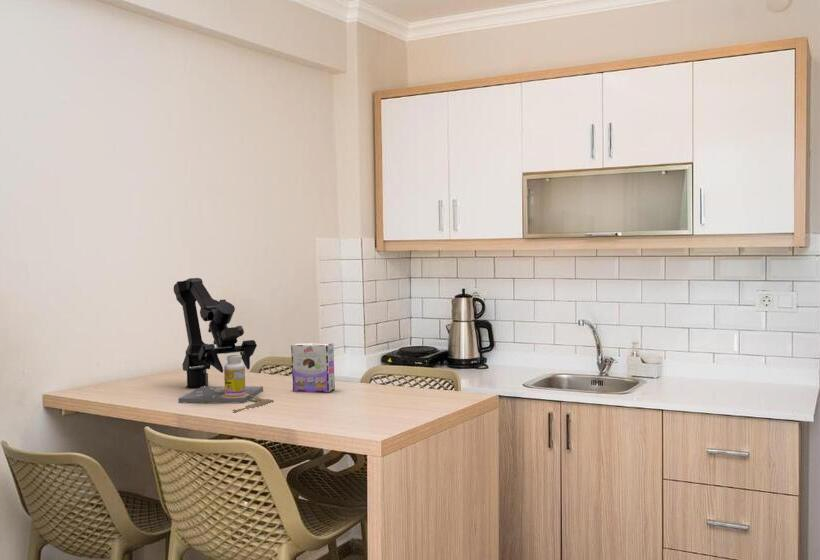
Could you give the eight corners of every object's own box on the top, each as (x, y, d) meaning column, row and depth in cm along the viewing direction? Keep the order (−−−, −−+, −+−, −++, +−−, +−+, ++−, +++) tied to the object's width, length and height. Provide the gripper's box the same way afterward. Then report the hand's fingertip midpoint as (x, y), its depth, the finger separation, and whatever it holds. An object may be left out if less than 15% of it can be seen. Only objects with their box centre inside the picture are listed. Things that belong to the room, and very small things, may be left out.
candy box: (335, 390, 281) (334, 342, 280) (328, 393, 275) (327, 345, 274) (299, 388, 285) (298, 342, 284) (291, 391, 280) (290, 344, 279)
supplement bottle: (222, 394, 267) (220, 355, 267) (241, 392, 271) (239, 354, 270) (229, 397, 262) (227, 358, 261) (248, 395, 265) (247, 356, 265)
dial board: (178, 402, 264) (178, 394, 264) (202, 390, 285) (202, 383, 285) (244, 403, 261) (243, 394, 261) (263, 390, 282) (262, 383, 282)
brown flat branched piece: (276, 402, 267) (276, 396, 266) (260, 416, 246) (261, 410, 246) (249, 400, 267) (249, 394, 267) (231, 414, 247) (231, 408, 247)
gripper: (200, 320, 263) (214, 357, 254) (253, 316, 274) (269, 351, 265) (192, 342, 269) (206, 379, 261) (244, 337, 280) (259, 372, 272)
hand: (235, 370), depth 265 cm, fingers open, 9 cm apart
